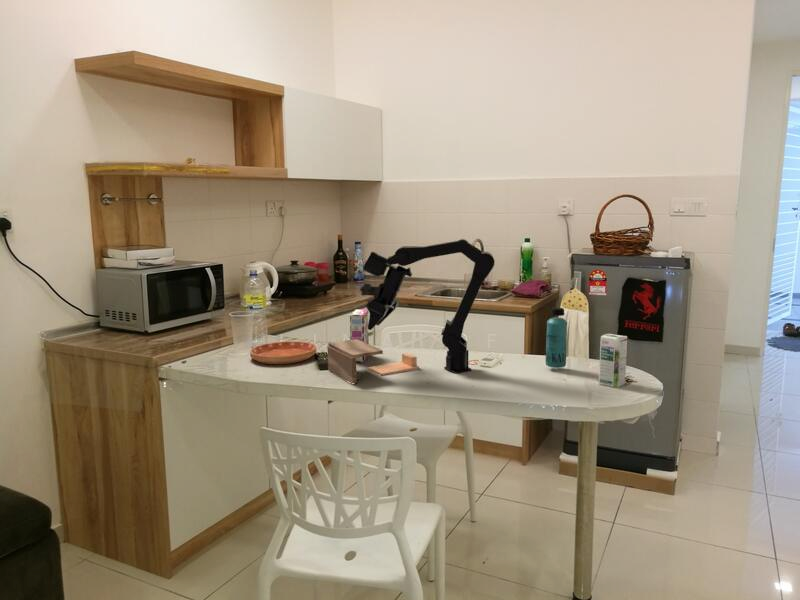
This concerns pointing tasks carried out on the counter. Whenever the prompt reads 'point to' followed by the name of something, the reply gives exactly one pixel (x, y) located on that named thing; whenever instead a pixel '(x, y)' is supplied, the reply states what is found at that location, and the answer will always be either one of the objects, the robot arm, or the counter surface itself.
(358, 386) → the counter surface
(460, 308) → the robot arm
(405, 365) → the wooden plank with block
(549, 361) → the beverage bottle
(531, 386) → the counter surface
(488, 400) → the counter surface
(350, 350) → the overhang shelf
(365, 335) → the candy bar box
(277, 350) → the saucer
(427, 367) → the counter surface
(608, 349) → the syrup box
